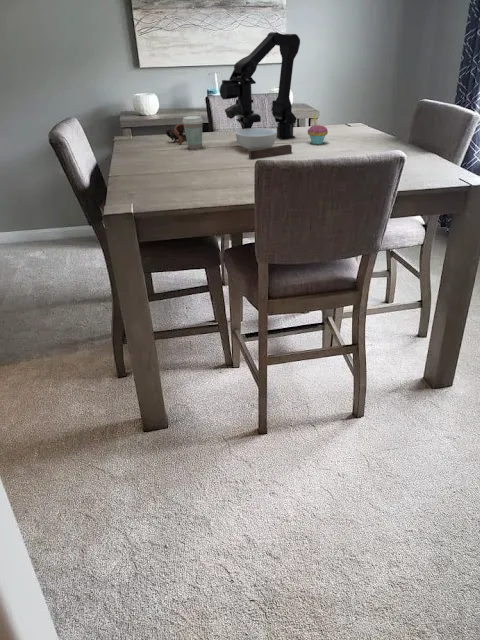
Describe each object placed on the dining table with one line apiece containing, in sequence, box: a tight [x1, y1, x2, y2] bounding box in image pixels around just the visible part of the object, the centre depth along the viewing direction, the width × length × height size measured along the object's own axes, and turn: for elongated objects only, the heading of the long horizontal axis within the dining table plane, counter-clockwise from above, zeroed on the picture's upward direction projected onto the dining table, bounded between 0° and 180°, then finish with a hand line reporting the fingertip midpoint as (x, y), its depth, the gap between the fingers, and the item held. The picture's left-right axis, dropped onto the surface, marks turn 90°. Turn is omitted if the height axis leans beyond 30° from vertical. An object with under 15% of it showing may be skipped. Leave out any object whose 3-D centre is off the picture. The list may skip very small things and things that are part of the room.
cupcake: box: [307, 112, 329, 145], centre depth 208 cm, size 9×8×12 cm
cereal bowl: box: [235, 127, 278, 152], centre depth 203 cm, size 17×17×7 cm
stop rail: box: [248, 144, 293, 160], centre depth 195 cm, size 18×2×3 cm, turn 116°
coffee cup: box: [182, 115, 204, 150], centre depth 208 cm, size 8×9×12 cm
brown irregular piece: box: [165, 123, 187, 145], centre depth 220 cm, size 12×10×8 cm
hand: (246, 137), depth 211 cm, fingers closed
